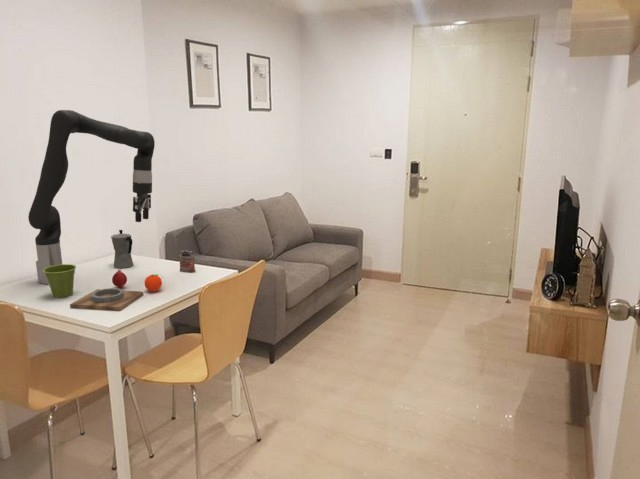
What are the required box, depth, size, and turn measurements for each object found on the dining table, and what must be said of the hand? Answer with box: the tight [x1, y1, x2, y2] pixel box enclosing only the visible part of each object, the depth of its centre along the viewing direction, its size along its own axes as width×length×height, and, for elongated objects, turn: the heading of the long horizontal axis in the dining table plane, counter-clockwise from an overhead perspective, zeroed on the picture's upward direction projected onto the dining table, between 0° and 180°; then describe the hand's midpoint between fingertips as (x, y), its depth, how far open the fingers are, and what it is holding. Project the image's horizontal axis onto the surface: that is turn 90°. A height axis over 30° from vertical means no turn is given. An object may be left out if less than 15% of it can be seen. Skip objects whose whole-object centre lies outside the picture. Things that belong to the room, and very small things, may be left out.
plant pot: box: [43, 263, 77, 299], centre depth 202 cm, size 12×12×11 cm
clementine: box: [144, 273, 163, 293], centre depth 208 cm, size 8×7×7 cm
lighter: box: [178, 249, 196, 274], centre depth 236 cm, size 8×3×10 cm, turn 68°
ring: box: [91, 287, 124, 303], centre depth 196 cm, size 11×11×2 cm
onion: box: [111, 269, 128, 289], centre depth 211 cm, size 6×6×8 cm
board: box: [69, 288, 144, 312], centre depth 196 cm, size 20×18×2 cm
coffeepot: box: [110, 229, 134, 270], centre depth 242 cm, size 15×9×18 cm, turn 51°
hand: (142, 220), depth 209 cm, fingers open, 8 cm apart
